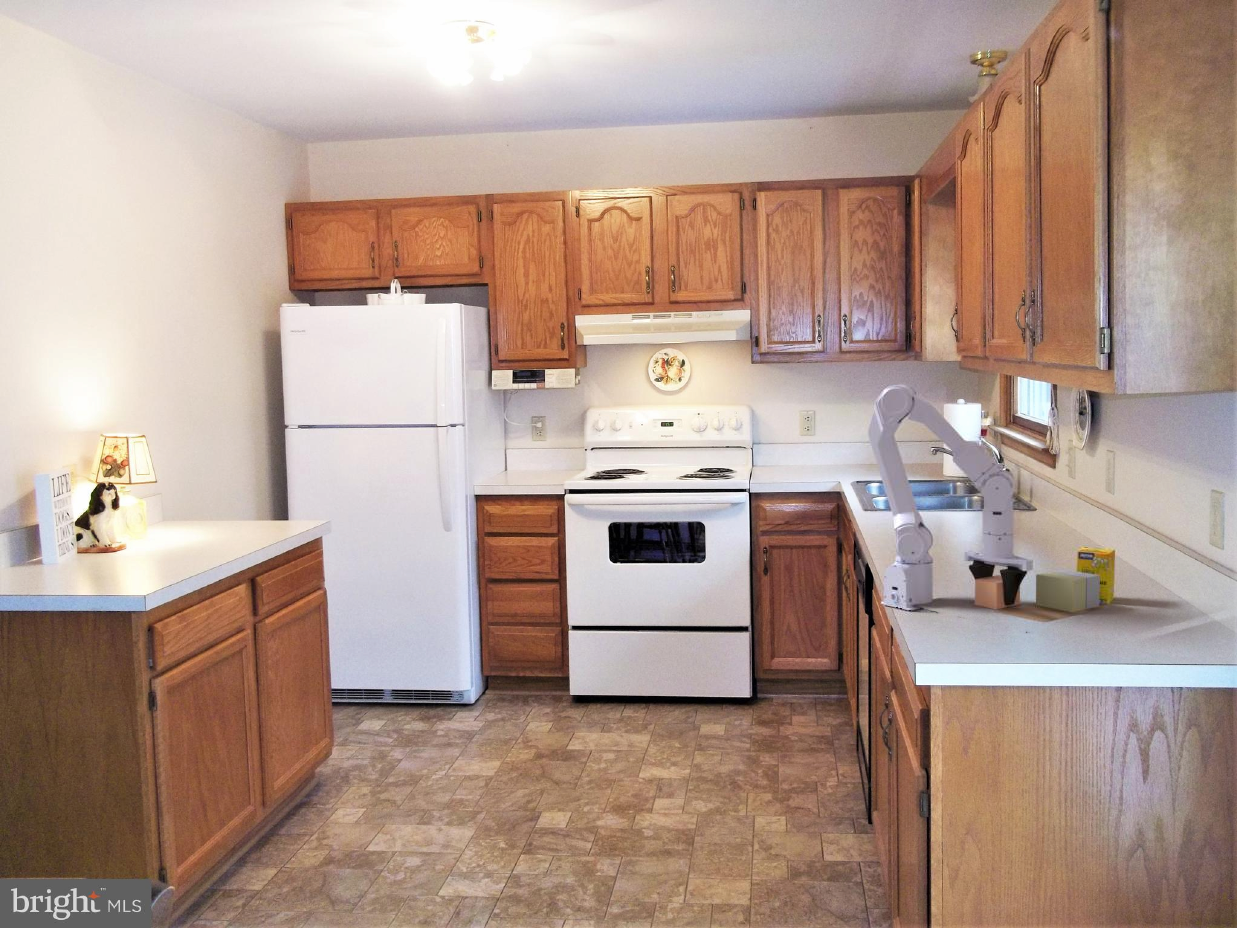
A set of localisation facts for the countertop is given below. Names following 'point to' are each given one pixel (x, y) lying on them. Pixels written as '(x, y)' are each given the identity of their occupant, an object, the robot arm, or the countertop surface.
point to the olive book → (1061, 591)
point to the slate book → (1087, 586)
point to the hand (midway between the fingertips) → (997, 602)
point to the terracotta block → (992, 593)
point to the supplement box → (1099, 569)
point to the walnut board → (1042, 612)
